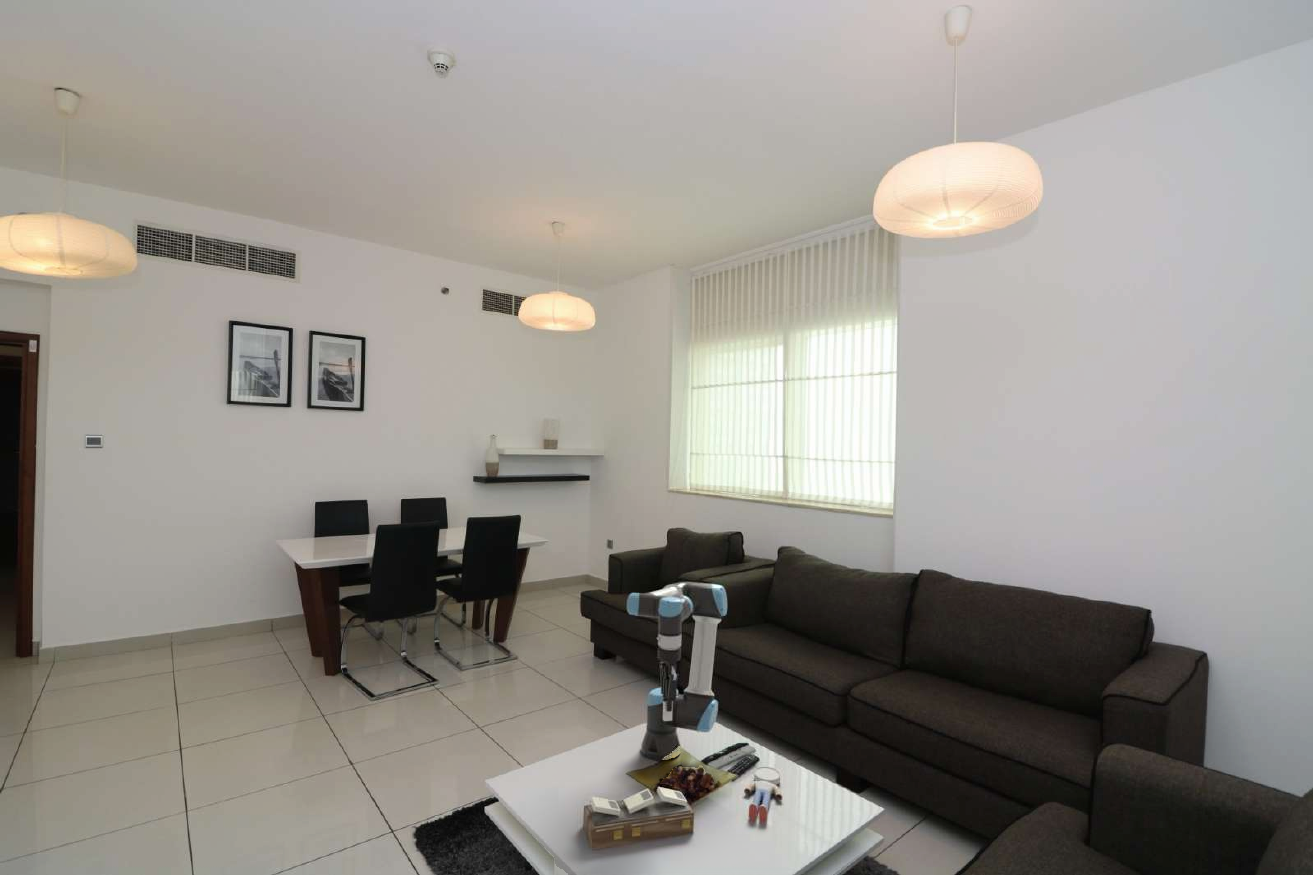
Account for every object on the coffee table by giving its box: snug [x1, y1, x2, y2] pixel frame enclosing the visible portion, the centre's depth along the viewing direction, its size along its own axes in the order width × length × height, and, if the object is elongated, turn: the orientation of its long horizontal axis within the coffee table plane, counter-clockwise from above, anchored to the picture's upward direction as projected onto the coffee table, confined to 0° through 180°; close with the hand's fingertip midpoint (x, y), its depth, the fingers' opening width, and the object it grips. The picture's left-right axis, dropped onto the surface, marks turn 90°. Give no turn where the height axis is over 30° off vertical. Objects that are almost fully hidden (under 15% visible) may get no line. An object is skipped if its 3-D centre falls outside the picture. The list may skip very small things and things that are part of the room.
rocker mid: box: [623, 788, 655, 814], centre depth 186 cm, size 6×8×1 cm
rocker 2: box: [656, 786, 688, 806], centre depth 189 cm, size 6×8×2 cm
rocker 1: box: [589, 795, 621, 816], centre depth 183 cm, size 6×8×1 cm
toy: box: [743, 766, 783, 823], centre depth 207 cm, size 6×13×30 cm
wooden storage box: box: [582, 794, 695, 851], centre depth 186 cm, size 12×31×7 cm, turn 108°
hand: (667, 719), depth 200 cm, fingers closed
